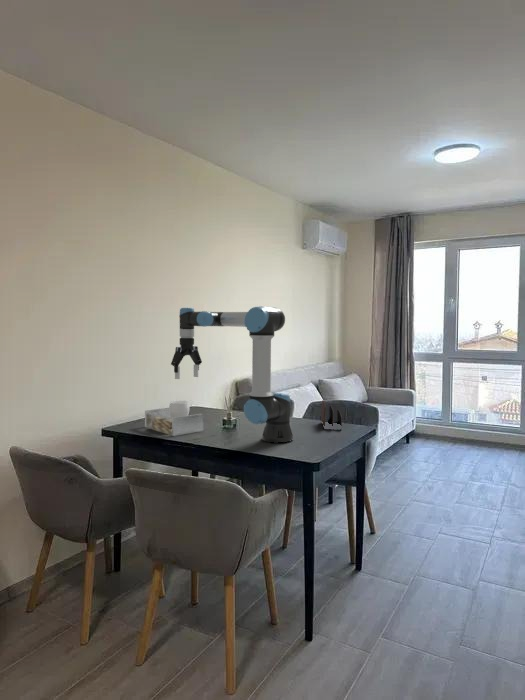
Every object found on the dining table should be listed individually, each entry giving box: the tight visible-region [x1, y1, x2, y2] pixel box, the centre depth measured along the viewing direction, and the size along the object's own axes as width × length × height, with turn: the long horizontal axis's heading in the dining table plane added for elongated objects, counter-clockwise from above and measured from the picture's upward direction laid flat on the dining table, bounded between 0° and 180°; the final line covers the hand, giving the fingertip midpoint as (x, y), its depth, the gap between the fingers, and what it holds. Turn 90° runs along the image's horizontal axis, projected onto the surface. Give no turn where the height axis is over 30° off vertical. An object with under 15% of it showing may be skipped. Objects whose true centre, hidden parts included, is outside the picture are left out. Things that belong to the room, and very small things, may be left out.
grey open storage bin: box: [144, 407, 204, 437], centre depth 263 cm, size 28×18×10 cm, turn 43°
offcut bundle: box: [152, 417, 172, 434], centre depth 259 cm, size 18×4×6 cm, turn 43°
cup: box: [168, 400, 190, 417], centre depth 265 cm, size 11×11×15 cm
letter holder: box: [320, 400, 343, 427], centre depth 279 cm, size 10×20×14 cm, turn 177°
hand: (186, 377), depth 263 cm, fingers open, 13 cm apart
